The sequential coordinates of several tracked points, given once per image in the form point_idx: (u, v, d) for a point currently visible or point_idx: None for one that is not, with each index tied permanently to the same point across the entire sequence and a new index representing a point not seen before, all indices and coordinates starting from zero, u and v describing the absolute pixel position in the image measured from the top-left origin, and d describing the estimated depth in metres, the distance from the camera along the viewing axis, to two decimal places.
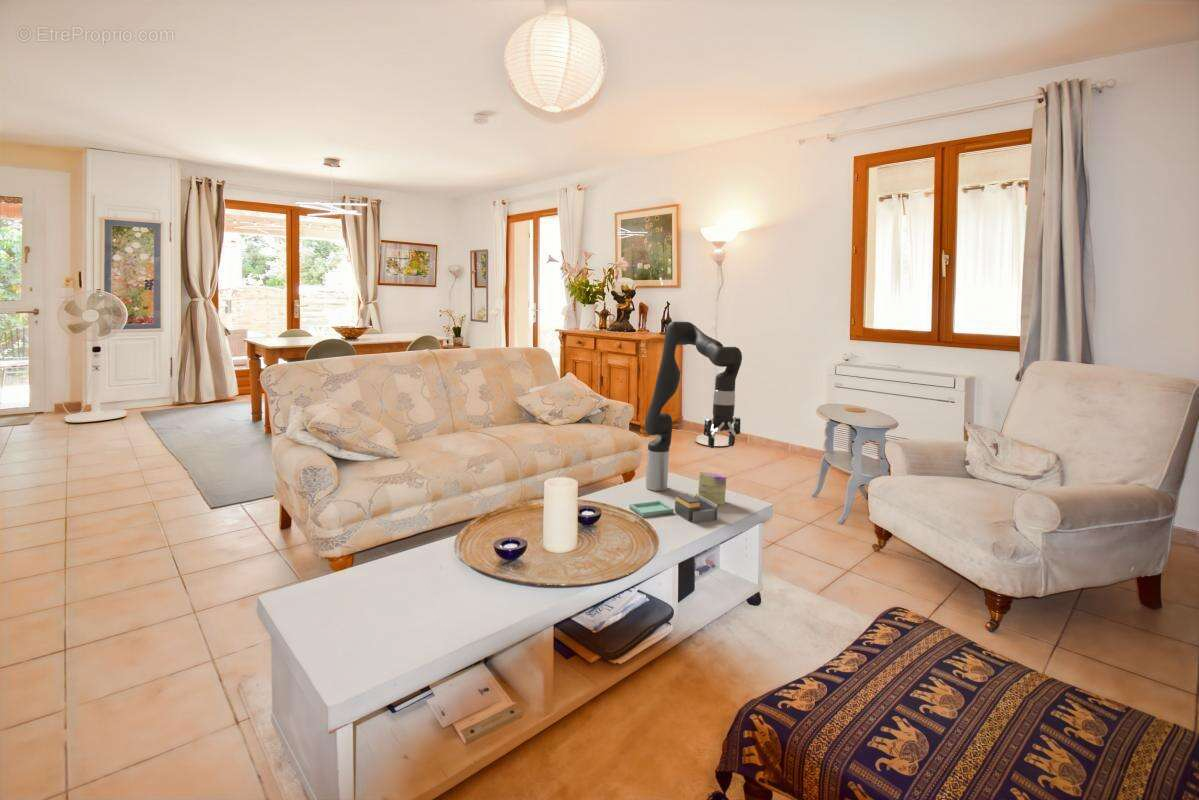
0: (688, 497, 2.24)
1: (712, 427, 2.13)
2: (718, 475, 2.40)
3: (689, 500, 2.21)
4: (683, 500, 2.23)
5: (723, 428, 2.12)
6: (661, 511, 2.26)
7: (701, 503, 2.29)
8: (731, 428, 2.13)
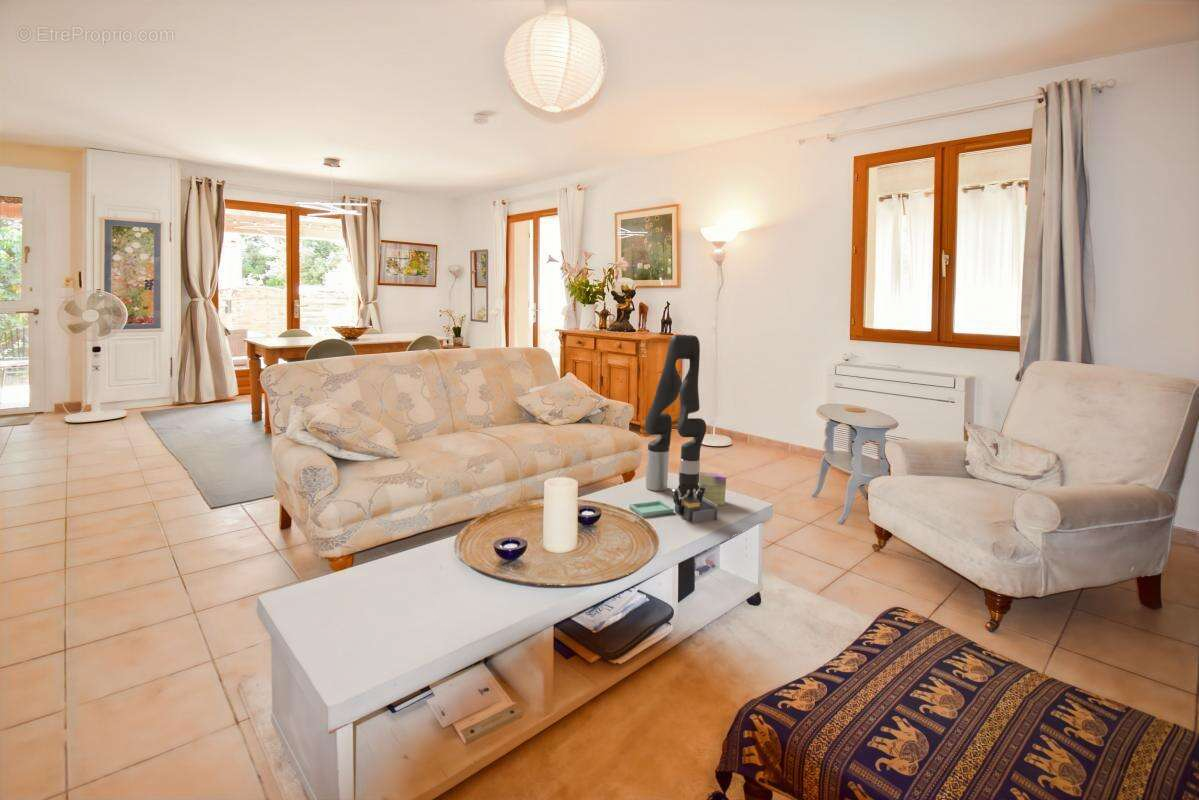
0: (688, 497, 2.24)
1: (680, 495, 2.24)
2: (718, 475, 2.40)
3: (689, 500, 2.21)
4: None
5: (689, 495, 2.23)
6: (661, 511, 2.26)
7: (701, 503, 2.29)
8: (695, 496, 2.23)
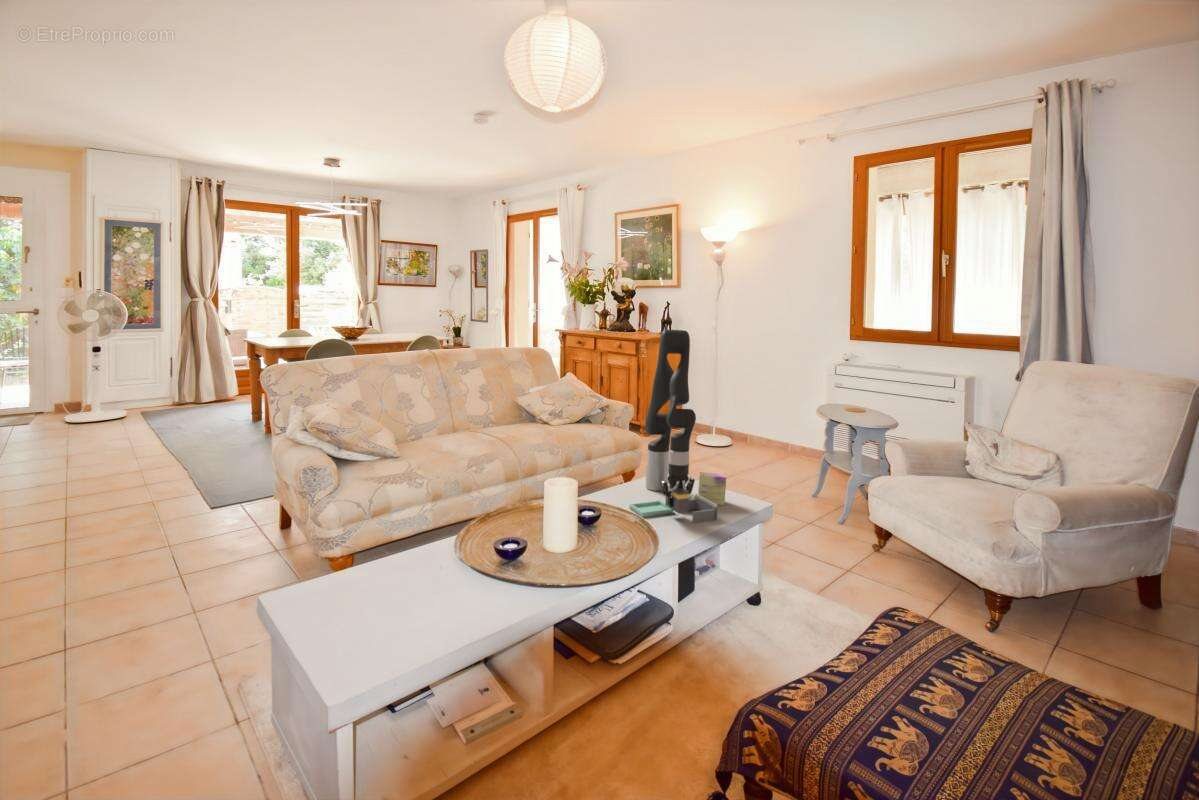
0: None
1: (669, 487, 2.21)
2: (718, 475, 2.40)
3: (679, 491, 2.18)
4: None
5: (678, 486, 2.20)
6: (661, 511, 2.26)
7: (701, 503, 2.29)
8: (684, 487, 2.21)
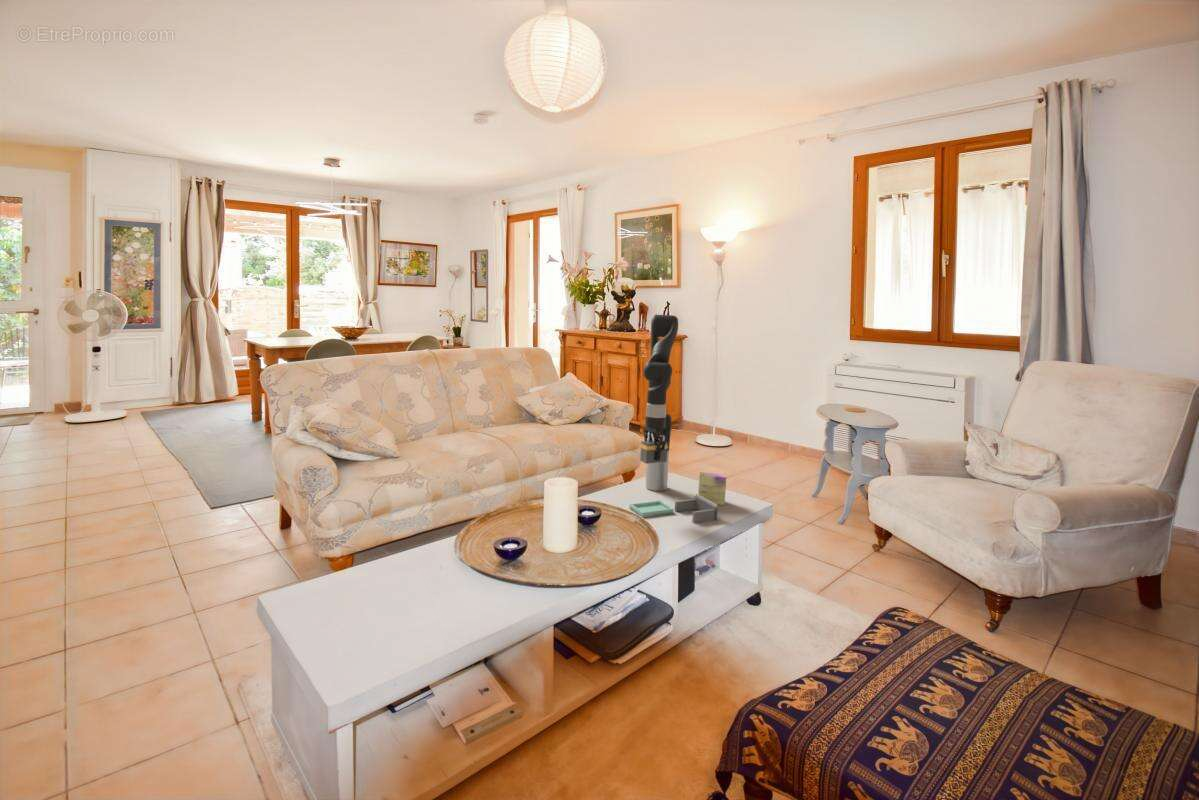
0: None
1: None
2: (718, 475, 2.40)
3: (646, 441, 2.26)
4: None
5: (651, 438, 2.26)
6: (661, 511, 2.26)
7: (701, 503, 2.29)
8: (653, 441, 2.23)
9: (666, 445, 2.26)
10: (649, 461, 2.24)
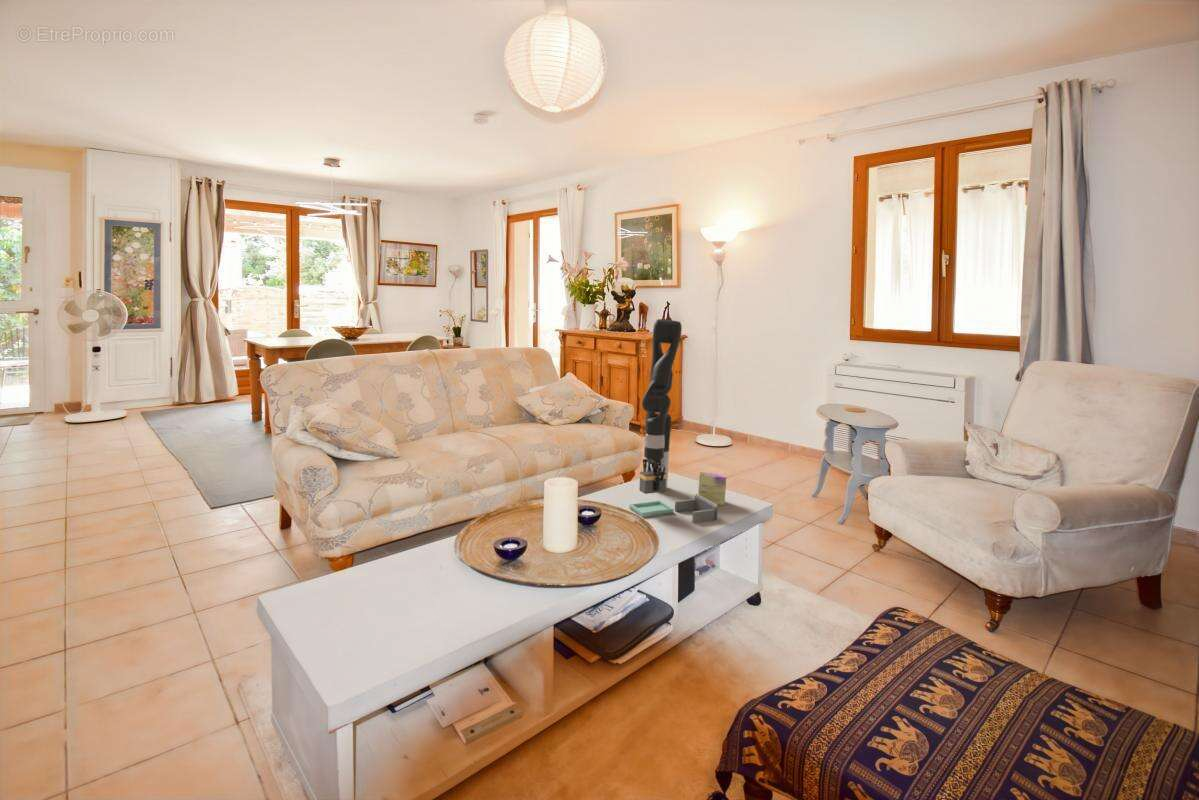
0: (654, 472, 2.27)
1: None
2: (718, 475, 2.40)
3: (644, 472, 2.28)
4: None
5: (650, 468, 2.27)
6: (661, 511, 2.26)
7: (701, 503, 2.29)
8: (652, 471, 2.25)
9: (665, 475, 2.27)
10: (648, 491, 2.25)
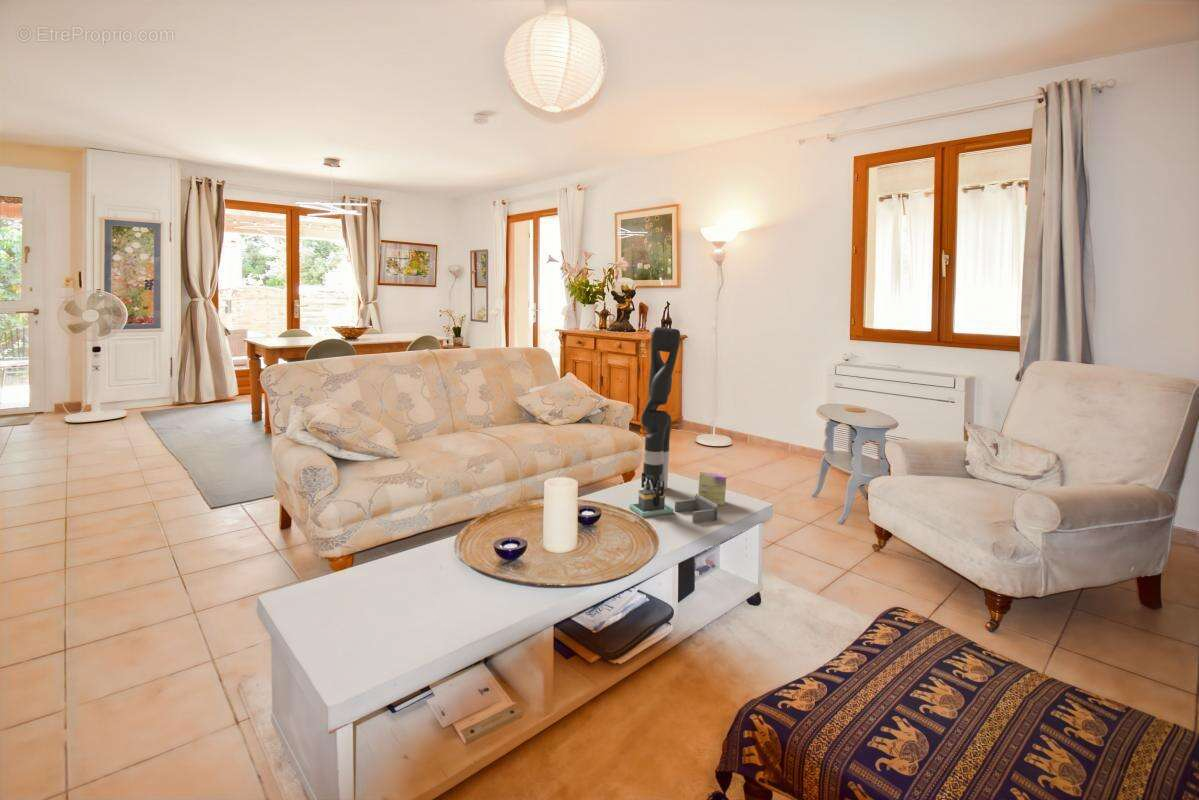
0: (652, 491, 2.29)
1: None
2: (718, 475, 2.40)
3: (643, 490, 2.29)
4: None
5: (649, 484, 2.28)
6: (661, 511, 2.26)
7: (701, 503, 2.29)
8: (651, 487, 2.26)
9: (664, 494, 2.29)
10: (647, 510, 2.27)
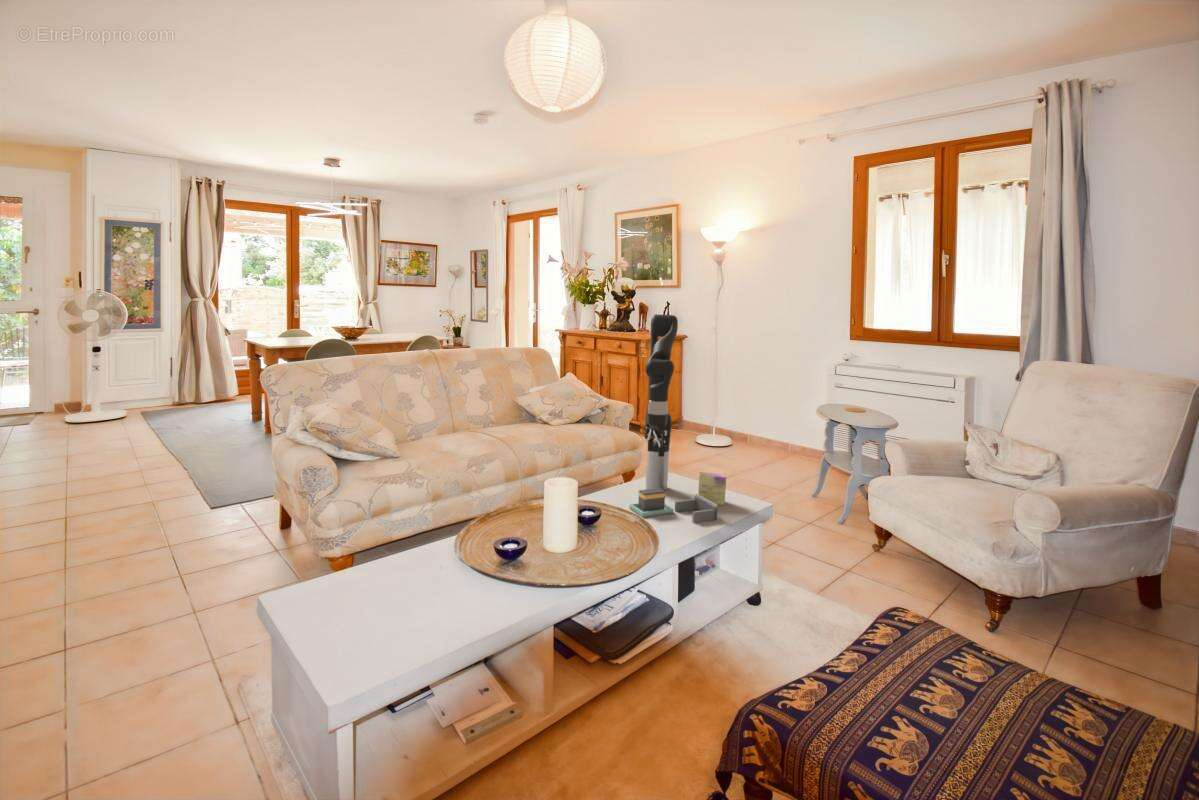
0: (652, 491, 2.29)
1: None
2: (718, 475, 2.40)
3: (643, 490, 2.29)
4: None
5: (653, 435, 2.25)
6: (661, 511, 2.26)
7: (701, 503, 2.29)
8: (656, 437, 2.22)
9: (664, 494, 2.29)
10: (647, 510, 2.27)
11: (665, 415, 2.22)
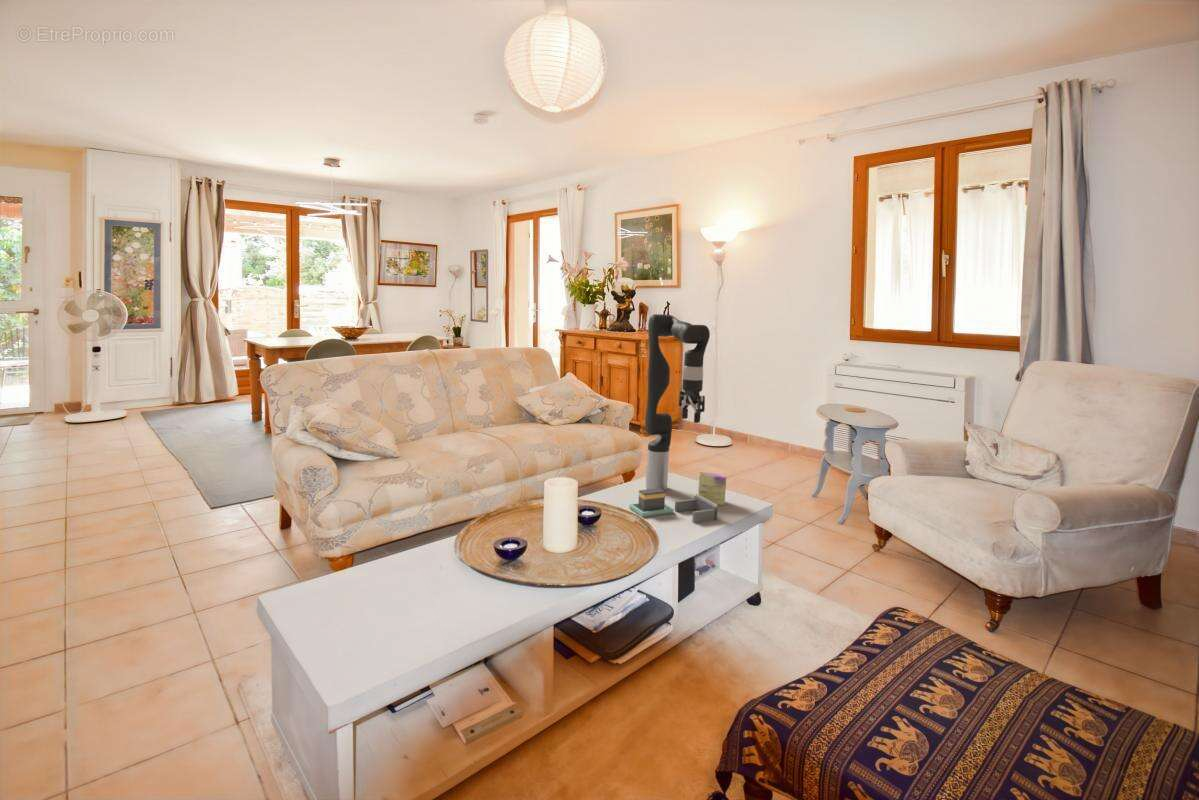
0: (652, 491, 2.29)
1: None
2: (718, 475, 2.40)
3: (643, 490, 2.29)
4: None
5: (688, 402, 2.24)
6: (661, 511, 2.26)
7: (701, 503, 2.29)
8: (691, 403, 2.21)
9: (664, 494, 2.29)
10: (647, 510, 2.27)
11: (701, 381, 2.20)
